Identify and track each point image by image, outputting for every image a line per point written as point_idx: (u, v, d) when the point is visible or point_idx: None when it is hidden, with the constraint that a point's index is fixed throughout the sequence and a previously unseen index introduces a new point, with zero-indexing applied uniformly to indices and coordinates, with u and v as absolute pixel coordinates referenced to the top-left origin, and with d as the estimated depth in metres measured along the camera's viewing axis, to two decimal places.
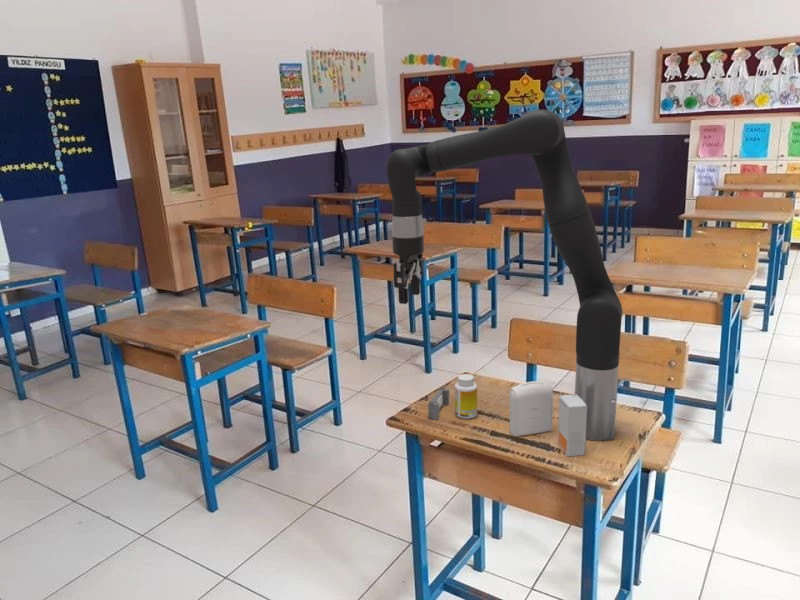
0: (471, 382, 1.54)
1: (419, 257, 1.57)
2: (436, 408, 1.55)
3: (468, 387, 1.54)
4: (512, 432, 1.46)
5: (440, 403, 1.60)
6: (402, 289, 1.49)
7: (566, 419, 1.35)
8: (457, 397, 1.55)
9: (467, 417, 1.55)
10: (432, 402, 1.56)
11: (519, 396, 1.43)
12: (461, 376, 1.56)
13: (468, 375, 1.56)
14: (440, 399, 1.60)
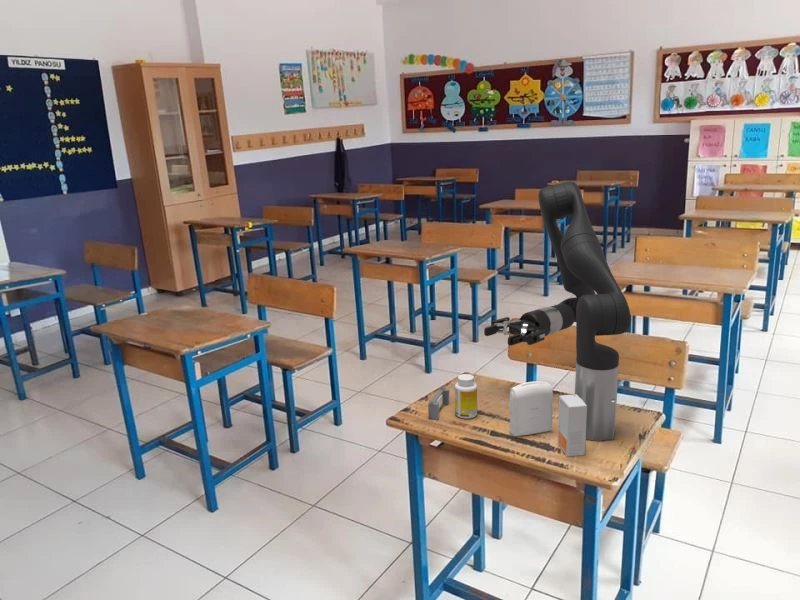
0: (471, 382, 1.54)
1: None
2: (436, 408, 1.55)
3: (468, 387, 1.54)
4: (512, 432, 1.46)
5: (440, 403, 1.60)
6: None
7: (566, 419, 1.35)
8: (457, 397, 1.55)
9: (467, 417, 1.55)
10: (432, 402, 1.56)
11: (519, 396, 1.43)
12: (461, 376, 1.56)
13: (468, 375, 1.56)
14: (440, 399, 1.60)
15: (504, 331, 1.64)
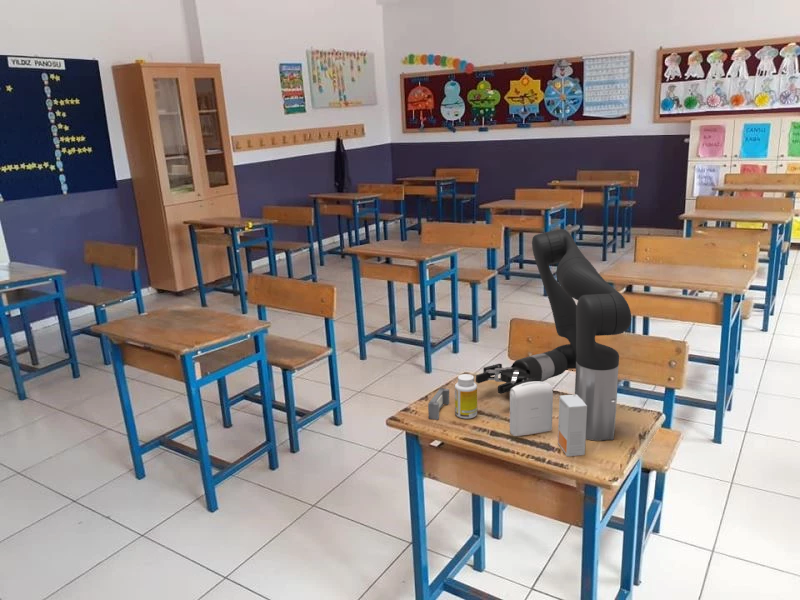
0: (471, 382, 1.54)
1: None
2: (436, 408, 1.55)
3: (468, 387, 1.54)
4: (512, 432, 1.46)
5: (440, 403, 1.60)
6: None
7: (566, 419, 1.35)
8: (457, 397, 1.55)
9: (467, 417, 1.55)
10: (432, 402, 1.56)
11: (519, 396, 1.43)
12: (461, 376, 1.56)
13: (468, 375, 1.56)
14: (440, 399, 1.60)
15: (496, 378, 1.66)
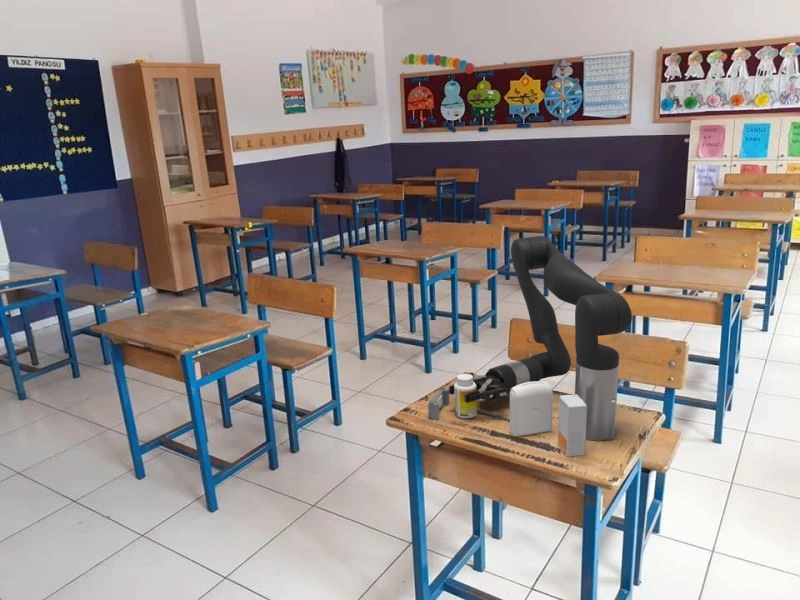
0: (470, 382, 1.54)
1: None
2: (436, 408, 1.55)
3: (467, 387, 1.54)
4: (512, 432, 1.46)
5: (440, 403, 1.60)
6: None
7: (566, 419, 1.35)
8: (456, 397, 1.55)
9: (467, 417, 1.55)
10: (432, 402, 1.56)
11: (519, 396, 1.43)
12: (460, 375, 1.56)
13: (467, 375, 1.56)
14: (440, 399, 1.60)
15: None
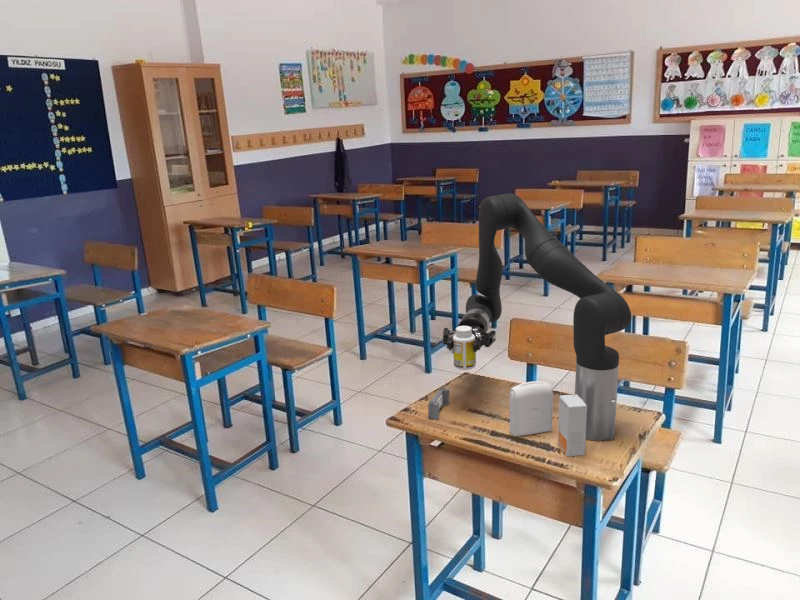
0: (471, 331, 1.55)
1: None
2: (436, 408, 1.55)
3: (471, 337, 1.54)
4: (512, 432, 1.46)
5: (440, 403, 1.60)
6: (448, 340, 1.59)
7: (566, 419, 1.35)
8: (462, 349, 1.54)
9: (472, 367, 1.56)
10: (432, 402, 1.56)
11: (519, 396, 1.43)
12: (459, 328, 1.55)
13: (463, 326, 1.56)
14: (440, 399, 1.60)
15: None
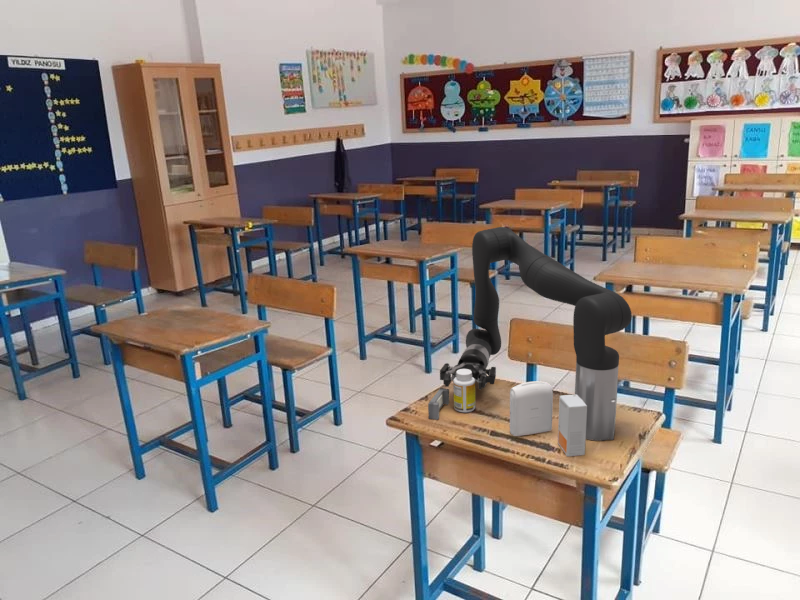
0: (471, 375, 1.58)
1: None
2: (436, 408, 1.55)
3: (471, 380, 1.58)
4: (512, 432, 1.46)
5: (440, 403, 1.60)
6: (445, 376, 1.62)
7: (566, 419, 1.35)
8: (462, 393, 1.57)
9: (472, 409, 1.59)
10: (432, 402, 1.56)
11: (519, 396, 1.43)
12: (459, 372, 1.58)
13: (463, 369, 1.59)
14: (440, 399, 1.60)
15: None
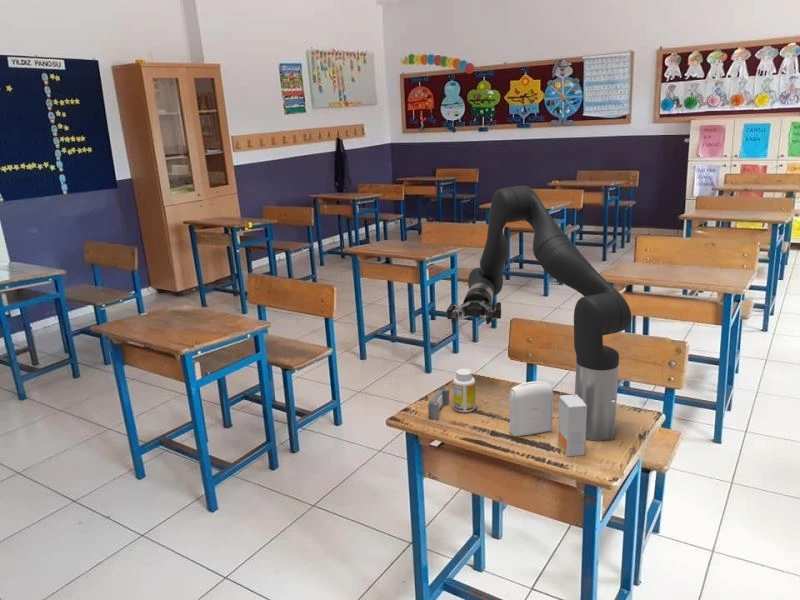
0: (471, 375, 1.58)
1: None
2: (436, 408, 1.55)
3: (471, 380, 1.58)
4: (512, 432, 1.46)
5: (440, 403, 1.60)
6: (452, 314, 1.66)
7: (566, 419, 1.35)
8: (462, 393, 1.57)
9: (472, 409, 1.59)
10: (432, 402, 1.56)
11: (519, 396, 1.43)
12: (459, 372, 1.58)
13: (463, 369, 1.60)
14: (440, 399, 1.60)
15: (462, 316, 1.67)
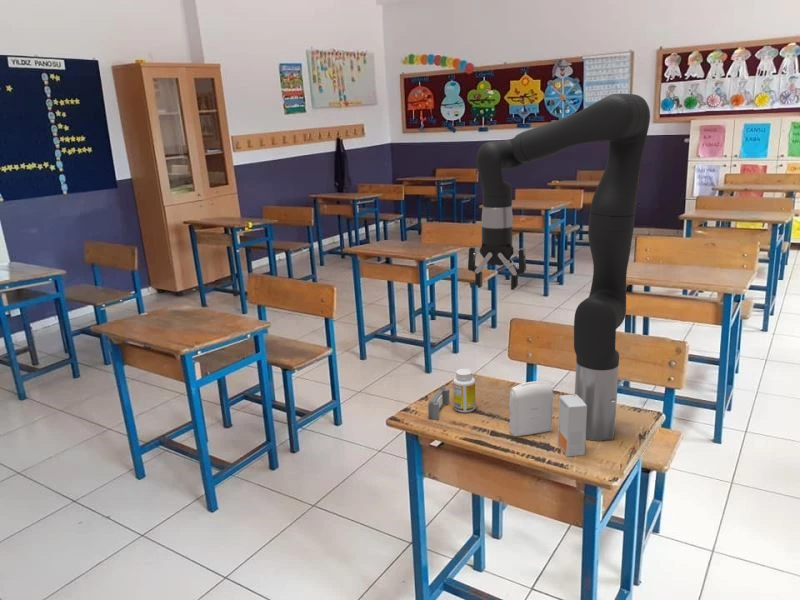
0: (471, 375, 1.58)
1: (518, 253, 1.54)
2: (436, 408, 1.55)
3: (471, 380, 1.58)
4: (512, 432, 1.46)
5: (440, 403, 1.60)
6: None
7: (566, 419, 1.35)
8: (462, 393, 1.57)
9: (472, 409, 1.59)
10: (432, 402, 1.56)
11: (519, 396, 1.43)
12: (459, 372, 1.58)
13: (463, 369, 1.59)
14: (440, 399, 1.60)
15: (485, 264, 1.59)
